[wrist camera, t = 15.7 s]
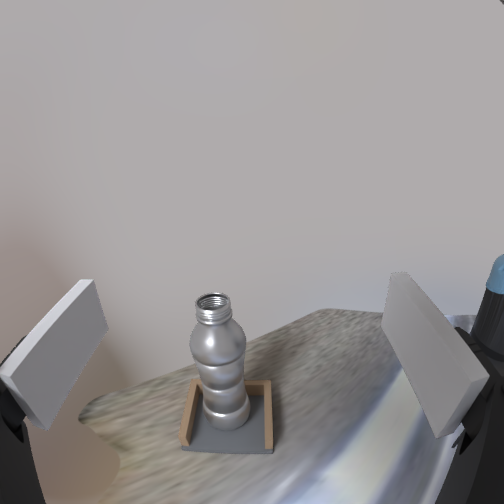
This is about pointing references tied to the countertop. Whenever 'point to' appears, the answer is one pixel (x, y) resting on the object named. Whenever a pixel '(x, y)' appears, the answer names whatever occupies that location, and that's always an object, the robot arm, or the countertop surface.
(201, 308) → the silver metal bottle
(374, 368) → the countertop surface
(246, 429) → the tray
